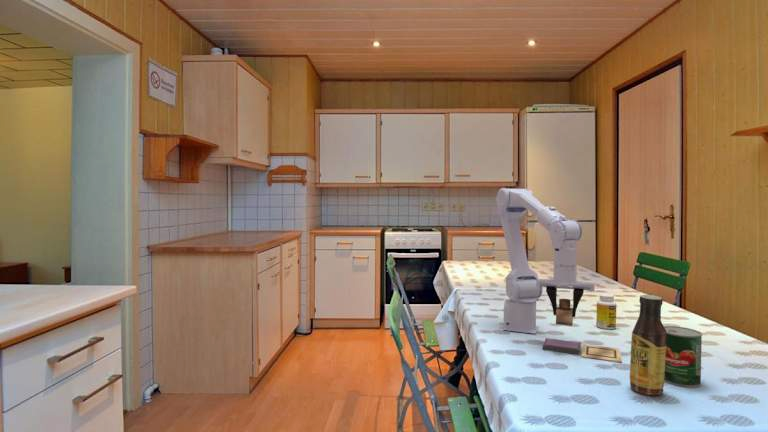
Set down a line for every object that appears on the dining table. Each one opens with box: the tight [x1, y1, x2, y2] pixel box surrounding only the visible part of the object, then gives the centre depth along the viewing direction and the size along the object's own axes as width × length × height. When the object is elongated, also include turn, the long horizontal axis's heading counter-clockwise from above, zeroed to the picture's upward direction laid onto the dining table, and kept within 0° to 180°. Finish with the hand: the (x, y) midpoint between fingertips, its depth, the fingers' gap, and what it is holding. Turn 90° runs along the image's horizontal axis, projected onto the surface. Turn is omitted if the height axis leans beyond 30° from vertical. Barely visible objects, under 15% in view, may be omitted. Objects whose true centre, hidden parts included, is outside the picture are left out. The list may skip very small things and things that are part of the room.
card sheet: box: [581, 343, 623, 364], centre depth 118 cm, size 9×11×1 cm
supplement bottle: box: [596, 293, 617, 330], centre depth 142 cm, size 6×6×10 cm
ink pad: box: [542, 337, 582, 356], centre depth 122 cm, size 9×7×1 cm
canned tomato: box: [663, 325, 703, 388], centre depth 100 cm, size 8×8×11 cm
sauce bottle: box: [629, 294, 666, 396], centre depth 94 cm, size 6×6×20 cm
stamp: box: [555, 298, 574, 327], centre depth 122 cm, size 4×4×6 cm
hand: (564, 315), depth 122 cm, fingers closed on stamp, 4 cm apart
